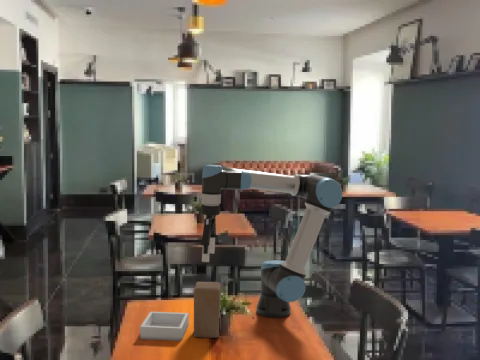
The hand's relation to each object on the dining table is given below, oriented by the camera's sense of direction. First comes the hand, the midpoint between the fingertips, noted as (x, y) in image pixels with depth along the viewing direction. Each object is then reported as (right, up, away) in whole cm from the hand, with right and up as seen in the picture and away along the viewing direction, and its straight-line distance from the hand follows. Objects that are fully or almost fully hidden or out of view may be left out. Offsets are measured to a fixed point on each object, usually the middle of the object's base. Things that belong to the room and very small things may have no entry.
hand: (208, 257), depth 213 cm
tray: (-18, -30, +4) cm, 35 cm away
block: (-1, -31, +3) cm, 31 cm away
